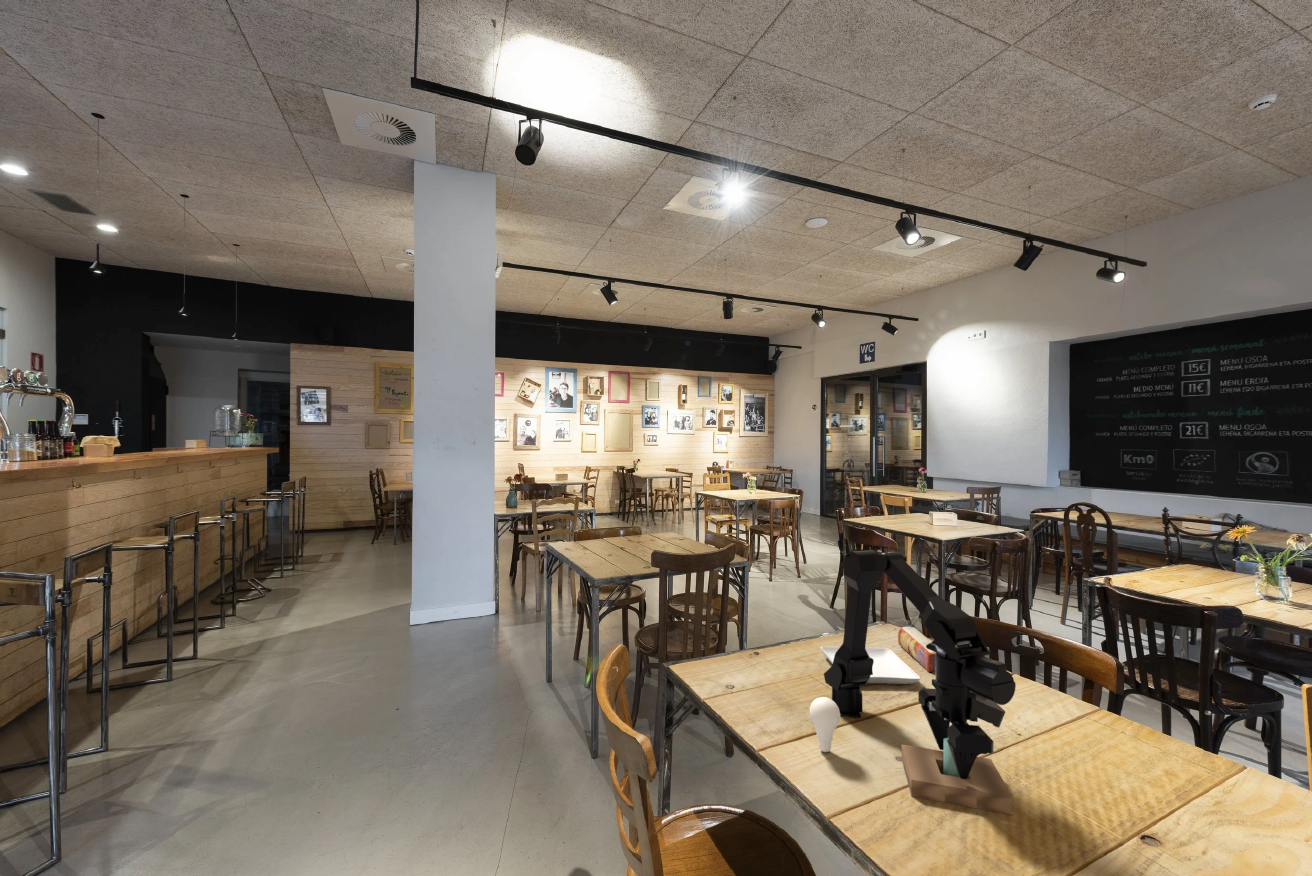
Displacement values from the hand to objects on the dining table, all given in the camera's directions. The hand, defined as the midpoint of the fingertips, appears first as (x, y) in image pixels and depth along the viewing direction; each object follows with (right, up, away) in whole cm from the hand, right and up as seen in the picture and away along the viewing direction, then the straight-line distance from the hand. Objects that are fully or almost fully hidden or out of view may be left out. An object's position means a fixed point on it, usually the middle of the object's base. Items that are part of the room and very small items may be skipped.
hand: (952, 763), depth 100 cm
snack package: (+25, -6, +60) cm, 65 cm away
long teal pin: (0, -4, 0) cm, 4 cm away
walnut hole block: (0, -4, 0) cm, 4 cm away
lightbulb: (-21, -4, +11) cm, 24 cm away
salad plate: (+4, -6, +51) cm, 51 cm away
